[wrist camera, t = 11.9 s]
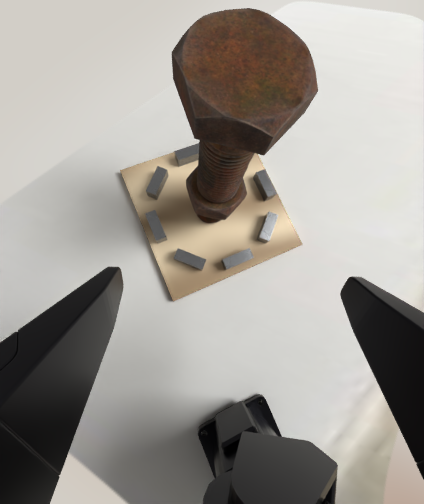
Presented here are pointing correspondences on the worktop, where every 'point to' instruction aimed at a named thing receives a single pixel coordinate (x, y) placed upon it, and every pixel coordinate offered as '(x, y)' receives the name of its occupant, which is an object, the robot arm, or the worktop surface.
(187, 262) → the castellated ring
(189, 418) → the worktop surface
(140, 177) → the tan flat square board
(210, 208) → the bolt
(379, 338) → the robot arm
